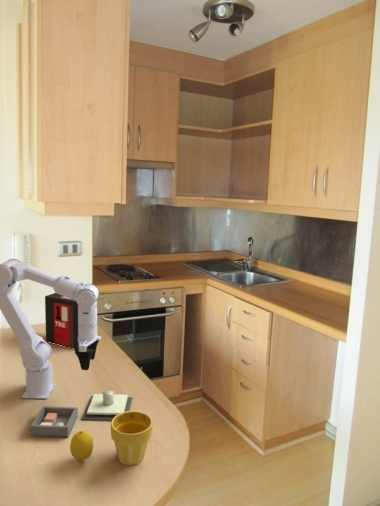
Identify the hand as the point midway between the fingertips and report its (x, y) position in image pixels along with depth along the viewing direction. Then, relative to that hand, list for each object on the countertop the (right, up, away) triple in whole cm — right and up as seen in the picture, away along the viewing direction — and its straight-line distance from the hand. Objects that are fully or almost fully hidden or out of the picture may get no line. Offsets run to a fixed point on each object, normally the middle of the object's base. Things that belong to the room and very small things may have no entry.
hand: (88, 364), depth 134 cm
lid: (+8, -12, -6) cm, 15 cm away
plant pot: (+18, -16, -27) cm, 37 cm away
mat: (+8, -12, -6) cm, 15 cm away
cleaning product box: (-18, -2, +43) cm, 47 cm away
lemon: (+6, -16, -30) cm, 34 cm away
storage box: (-5, -13, -16) cm, 21 cm away
